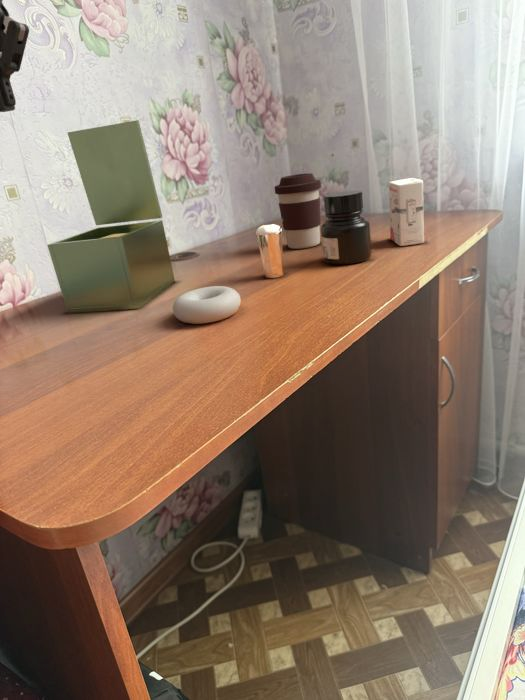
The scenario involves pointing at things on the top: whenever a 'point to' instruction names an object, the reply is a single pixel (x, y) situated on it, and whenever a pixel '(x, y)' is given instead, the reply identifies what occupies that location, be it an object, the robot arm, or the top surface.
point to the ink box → (406, 211)
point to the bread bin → (113, 267)
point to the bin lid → (116, 173)
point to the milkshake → (271, 249)
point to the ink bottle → (345, 229)
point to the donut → (206, 304)
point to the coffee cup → (300, 209)
